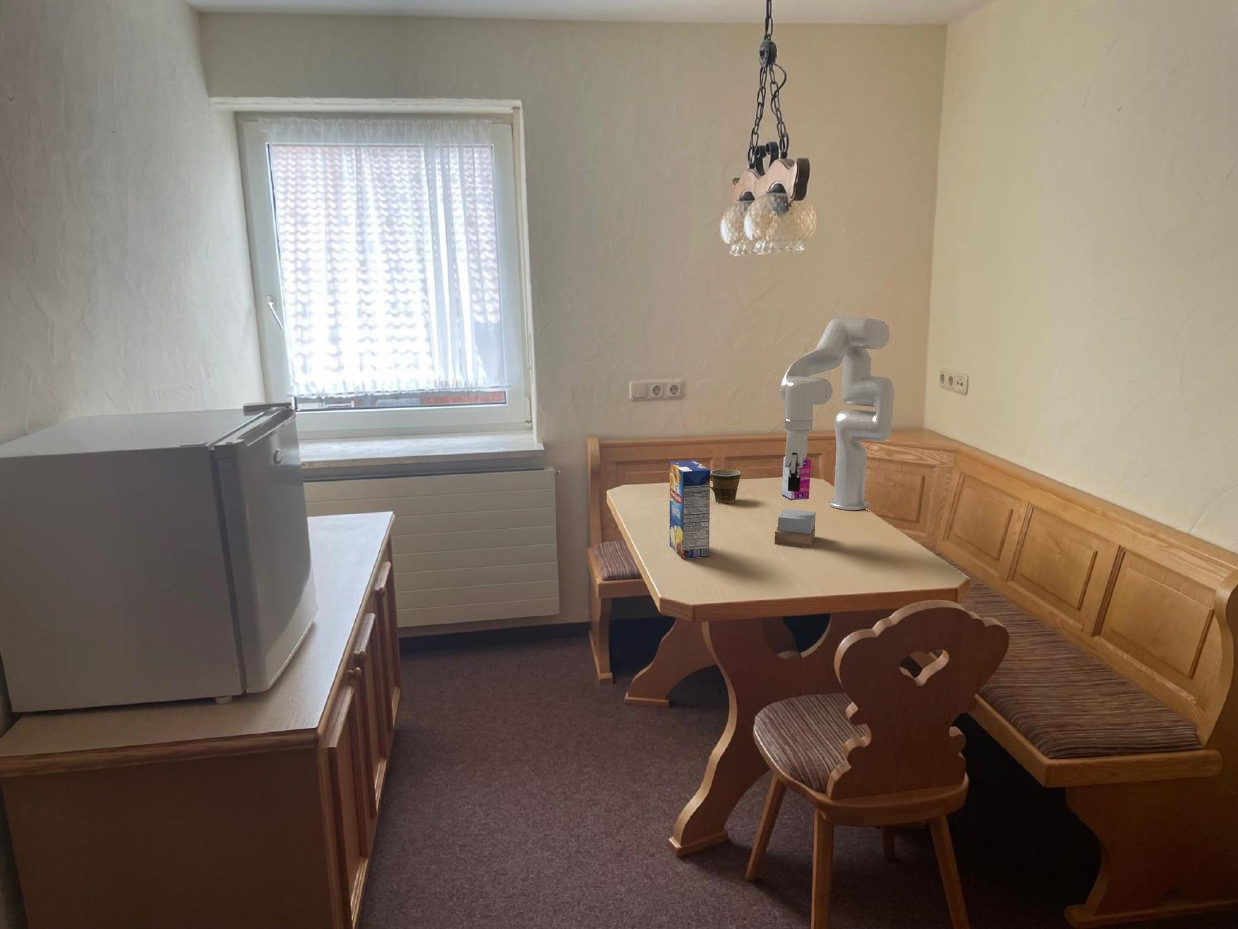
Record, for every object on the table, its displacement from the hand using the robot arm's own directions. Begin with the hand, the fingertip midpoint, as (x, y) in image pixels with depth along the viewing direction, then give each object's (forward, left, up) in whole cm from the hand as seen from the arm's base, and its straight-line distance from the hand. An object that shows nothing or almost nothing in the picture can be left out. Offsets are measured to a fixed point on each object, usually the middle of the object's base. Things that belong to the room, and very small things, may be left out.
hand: (795, 487), depth 223 cm
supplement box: (0, 0, -3) cm, 3 cm away
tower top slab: (-1, +1, -12) cm, 12 cm away
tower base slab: (0, 0, -16) cm, 16 cm away
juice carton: (+18, -26, -16) cm, 35 cm away
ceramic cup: (-35, -29, -16) cm, 48 cm away
